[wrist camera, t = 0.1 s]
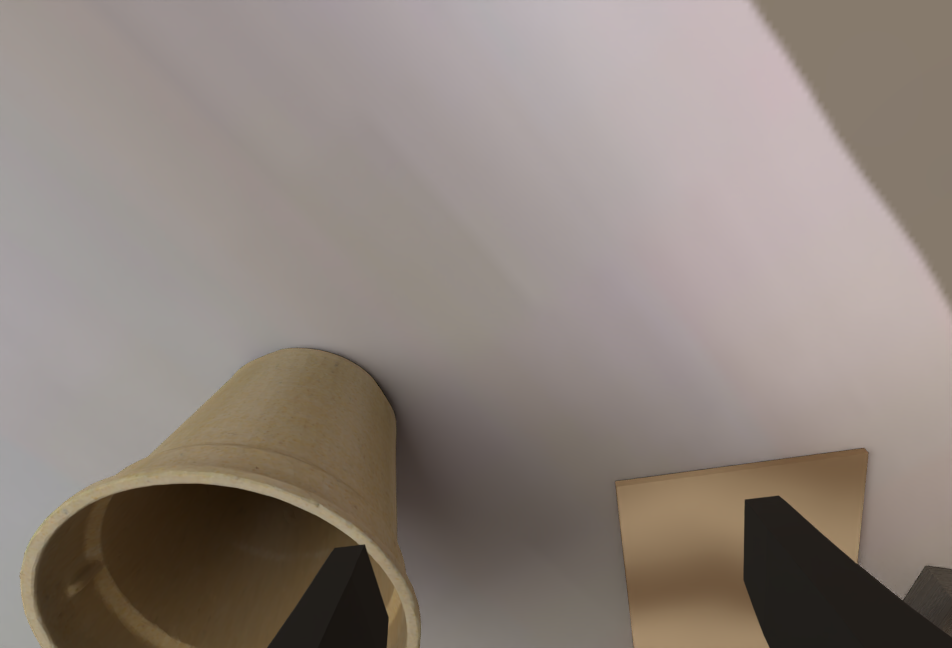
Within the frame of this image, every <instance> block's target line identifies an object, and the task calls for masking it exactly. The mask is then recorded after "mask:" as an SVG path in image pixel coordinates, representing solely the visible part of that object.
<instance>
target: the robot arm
mask: <svg viewBox="0 0 952 648" xmlns="http://www.w3.org/2000/svg"><path fill="white" fill-rule="evenodd" d="M743 580H744V583H745V586H746V589H747V592H748V594H749V597H750V600H751V603H752V606H753V609H754V611H755V614H756V617H757V619H758V622H759V625H760V627H761V630H762V632H763V635H764V637H765V639H766V641H767V643H768V645H769V648H952V637H951V636H950V635H948V634H947V633H945V632H944V631H943V630H941V629H940V628H938V627H937V626H936V625H934V624H933V623H932V622H930V621H929V620H928V619H926V618H925V617H924V616H922V615H921V614H920V613H918V612H917V611H916V610H914V609H913V608H912V607H910V606H909V605H908V604H907V603H905V602H904V601H903V600H901V599H900V598H899V597H898V596H896V595H895V594H894V593H892V592H891V591H890V590H889V589H887V588H886V587H885V586H884V585H883V584H881V583H880V582H879V581H878V580H876V579H875V578H874V577H873V576H872V575H870V574H869V573H868V572H867V571H865V570H864V569H863V568H862V567H861V566H859V565H858V564H857V563H856V562H854V561H853V560H852V559H851V558H850V557H849V556H847V555H846V554H845V553H844V552H843V551H842V550H840V549H839V548H838V547H837V546H836V545H835V544H834V543H832V542H831V541H830V540H829V539H828V538H827V537H825V536H824V535H823V534H822V533H821V532H820V531H819V530H818V529H816V528H815V527H814V526H813V525H812V524H811V523H810V522H809V521H807V520H806V519H805V518H804V517H803V516H802V515H801V514H800V513H799V512H797V511H796V510H795V509H794V508H793V507H792V506H791V505H790V504H789V503H787V502H786V501H785V500H784V499H783V498H781V497H780V496H779V495H778V496H770V497H761V498H753V499H745V506H744V566H743ZM388 622H389V617H388V614H387V611H386V608H385V605H384V602H383V599H382V595H381V592H380V589H379V586H378V583H377V580H376V577H375V574H374V571H373V568H372V565H371V562H370V559H369V555H368V552H367V549H366V546H365V544H363V545H355V546H346V547H338V548H334V549H333V551H332V552H331V553H330V555H329V556H328V558H327V559H326V561H325V562H324V564H323V565H322V567H321V568H320V570H319V571H318V573H317V574H316V576H315V578H314V579H313V581H312V582H311V584H310V585H309V587H308V588H307V590H306V591H305V593H304V594H303V596H302V597H301V599H300V600H299V602H298V603H297V605H296V606H295V608H294V609H293V611H292V612H291V614H290V615H289V617H288V618H287V620H286V621H285V622H284V624H283V625H282V627H281V628H280V630H279V631H278V632H277V634H276V635H275V637H274V638H273V640H272V641H271V643H270V644H269V645H268V647H267V648H387V638H388Z"/></svg>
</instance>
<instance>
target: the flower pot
mask: <svg viewBox="0 0 952 648" xmlns="http://www.w3.org/2000/svg"><path fill="white" fill-rule="evenodd" d="M396 433H397V429H396V419H395V414H394V411H393V409H392V407H391V405H390V404H389V402H388V400H387V399H386V397H385V395H384V394H383V392H382V391H381V389H380V388H379V386H378V385H377V383H376V382H375V381H374V379H373V378H372V377H371V376H370V375H369V374H368V373H367V372H366V371H365V370H363V369H362V368H361V367H359V366H358V365H356V364H354V363H353V362H351V361H349V360H347V359H345V358H343V357H341V356H338V355H336V354H332V353H329V352H326V351H321V350H316V349H308V348H288V349H281V350H278V351H276V352H273V353H270V354H267V355H265V356H262V357H260V358H258V359H255V360H253V361H251V362H249V363H248V364H246V365H244V366H243V367H242V368H240V369H239V370H238V371H237V372H236V373H235V374H234V375H233V377H232V378H231V379H230V380H229V381H227V382H226V383H225V384H224V385H223V386H222V387H221V388H220V389H219V390H218V391H217V392H216V393H215V394H214V395H213V396H212V397H211V398H210V399H208V400H207V401H206V402H205V403H204V404H203V405H202V406H201V407H200V408H199V409H198V410H197V411H196V412H195V413H194V414H193V415H192V416H191V417H189V418H188V419H187V420H186V421H185V422H184V423H183V424H182V425H181V426H180V427H179V428H178V429H177V430H176V431H175V432H174V433H173V434H171V435H170V436H169V437H168V438H167V439H166V440H165V441H164V442H163V443H162V444H161V445H160V446H159V447H158V448H156V449H155V450H154V451H153V452H152V453H151V454H150V455H149V456H148V457H146V458H144V459H142V460H140V461H138V462H136V463H134V464H132V465H130V466H128V467H126V468H125V469H123V470H122V471H120V472H119V473H118V474H116V475H115V476H112V477H109V478H106V479H103V480H101V481H98V482H96V483H94V484H92V485H90V486H88V487H86V488H85V489H83V490H81V491H79V492H78V493H76V494H75V495H74V496H72V497H71V498H69V499H68V500H66V501H65V502H64V503H63V504H62V505H60V506H59V507H58V508H57V509H56V510H55V511H54V512H53V513H51V514H50V515H49V516H48V517H47V518H46V519H45V520H44V522H43V523H42V524H41V525H40V527H39V528H38V529H37V531H36V532H35V534H34V535H33V537H32V538H31V540H30V542H29V544H28V546H27V550H26V551H25V553H24V559H23V564H22V568H21V572H20V576H19V577H20V579H21V596H22V601H23V606H24V610H25V615H26V617H27V619H28V623H29V625H30V627H31V628H32V631H33V633H34V635H35V637H36V638H37V640H38V642H39V643H40V646H41V647H42V648H267V647H268V645H269V644H270V643H271V641H272V640H273V638H274V637H275V635H276V634H277V632H278V631H279V630H280V628H281V627H282V625H283V624H284V622H285V621H286V620H287V618H288V617H289V615H290V614H291V612H292V611H293V609H294V608H295V606H296V605H297V603H298V602H299V600H300V599H301V597H302V596H303V594H304V593H305V591H306V590H307V588H308V587H309V585H310V584H311V582H312V581H313V579H314V578H315V576H316V574H317V573H318V571H319V570H320V568H321V567H322V565H323V564H324V562H325V561H326V559H327V558H328V556H329V555H330V553H331V552H332V551H333V549H334V548H338V547H346V546H355V545H363V544H365V546H366V549H367V552H368V555H369V559H370V562H371V565H372V568H373V571H374V574H375V577H376V580H377V583H378V586H379V589H380V592H381V595H382V599H383V602H384V605H385V608H386V611H387V614H388V617H389V622H388V638H387V648H420V637H421V619H420V612H419V605H418V601H417V598H416V595H415V592H414V589H413V587H412V585H411V583H410V581H409V578H408V576H407V575H406V569H405V564H404V560H403V556H402V553H401V550H400V548H399V545H398V543H397V501H396Z"/></svg>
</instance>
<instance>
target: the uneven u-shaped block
mask: <svg viewBox="0 0 952 648" xmlns="http://www.w3.org/2000/svg"><path fill="white" fill-rule="evenodd" d="M903 601H904V602H905V603H907V604H908V605H909V606H910V607H912V608H913V609H914V610H916V611H917V612H918V613H920V614H921V615H922V616H924V617H925V618H926V619H928V620H929V621H930V622H932V623H933V624H934V625H936V626H937V627H938V628H940V629H941V630H943V631H944V632H945V633H947V634H948V635H950V636H951V637H952V570H951V569H944V568H937V567H930V566H926V567H925V568H924V570H923V571H922V573H921V574H920V576H919V577H918V579H917V580H916V582H915V583H914V585H913V586H912V588H911V590H910V591H909V593H908V594H907V596H906V597H905V599H904V600H903Z"/></svg>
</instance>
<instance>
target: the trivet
mask: <svg viewBox="0 0 952 648" xmlns="http://www.w3.org/2000/svg"><path fill="white" fill-rule="evenodd" d="M867 463H868V452H867V451H866V450H865V449H864V448H861V449H854V450H846V451H839V452H831V453H824V454H816V455H809V456H801V457H794V458H786V459H779V460H772V461H764V462H757V463H749V464H742V465H734V466H727V467H719V468H712V469H704V470H697V471H690V472H682V473H675V474H667V475H660V476H652V477H645V478H637V479H630V480H622V481H615V485H616V494H617V503H618V512H619V521H620V530H621V539H622V547H623V556H624V565H625V574H626V583H627V592H628V601H629V610H630V619H631V627H632V636H633V645H634V648H769V645H768V643H767V641H766V639H765V637H764V635H763V632H762V630H761V627H760V625H759V622H758V619H757V617H756V614H755V611H754V609H753V606H752V603H751V600H750V597H749V594H748V592H747V589H746V586H745V583H744V580H743V566H744V506H745V499H753V498H761V497H770V496H778V495H779V496H780V497H781V498H783V499H784V500H785V501H786V502H787V503H789V504H790V505H791V506H792V507H793V508H794V509H795V510H796V511H797V512H799V513H800V514H801V515H802V516H803V517H804V518H805V519H806V520H807V521H809V522H810V523H811V524H812V525H813V526H814V527H815V528H816V529H818V530H819V531H820V532H821V533H822V534H823V535H824V536H825V537H827V538H828V539H829V540H830V541H831V542H832V543H834V544H835V545H836V546H837V547H838V548H839V549H840V550H842V551H843V552H844V553H845V554H846V555H847V556H849V557H850V558H851V559H852V560H853V561H854V562H856V563H857V560H858V550H859V541H860V531H861V521H862V511H863V502H864V492H865V482H866V472H867Z"/></svg>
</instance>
